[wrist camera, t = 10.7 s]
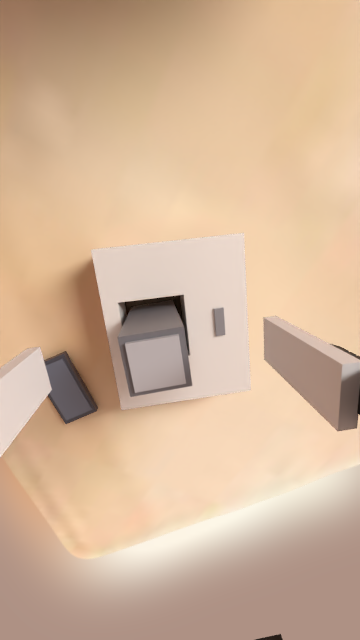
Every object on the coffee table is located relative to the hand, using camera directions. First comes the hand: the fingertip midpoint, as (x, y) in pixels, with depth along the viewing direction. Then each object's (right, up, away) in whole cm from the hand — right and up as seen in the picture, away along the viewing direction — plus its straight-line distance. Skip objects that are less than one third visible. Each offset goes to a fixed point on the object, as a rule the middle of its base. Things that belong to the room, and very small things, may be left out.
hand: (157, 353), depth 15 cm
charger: (-1, +2, +10) cm, 11 cm away
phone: (-10, -5, +12) cm, 16 cm away
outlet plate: (+1, +2, +10) cm, 11 cm away
